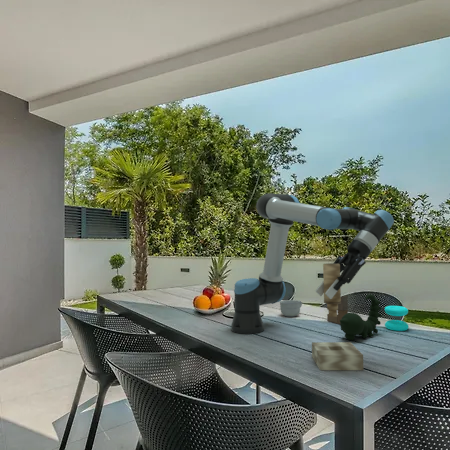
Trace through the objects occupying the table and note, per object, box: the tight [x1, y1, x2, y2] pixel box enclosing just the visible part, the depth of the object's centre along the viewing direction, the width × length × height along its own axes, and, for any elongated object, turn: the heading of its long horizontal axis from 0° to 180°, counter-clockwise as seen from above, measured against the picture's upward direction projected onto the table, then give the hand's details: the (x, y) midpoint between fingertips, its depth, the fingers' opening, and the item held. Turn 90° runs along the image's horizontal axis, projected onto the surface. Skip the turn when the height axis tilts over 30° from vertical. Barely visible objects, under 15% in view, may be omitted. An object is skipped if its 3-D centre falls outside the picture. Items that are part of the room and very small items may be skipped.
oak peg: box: [322, 262, 342, 317], centre depth 130 cm, size 6×6×18 cm
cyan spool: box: [384, 305, 409, 332], centre depth 174 cm, size 10×10×10 cm
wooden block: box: [326, 295, 349, 325], centre depth 187 cm, size 4×11×18 cm, turn 29°
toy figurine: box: [339, 293, 383, 341], centre depth 161 cm, size 9×19×25 cm
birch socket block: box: [311, 341, 364, 371], centre depth 130 cm, size 14×14×5 cm
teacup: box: [279, 299, 303, 318], centre depth 205 cm, size 14×11×8 cm
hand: (323, 294), depth 129 cm, fingers closed on oak peg, 5 cm apart
